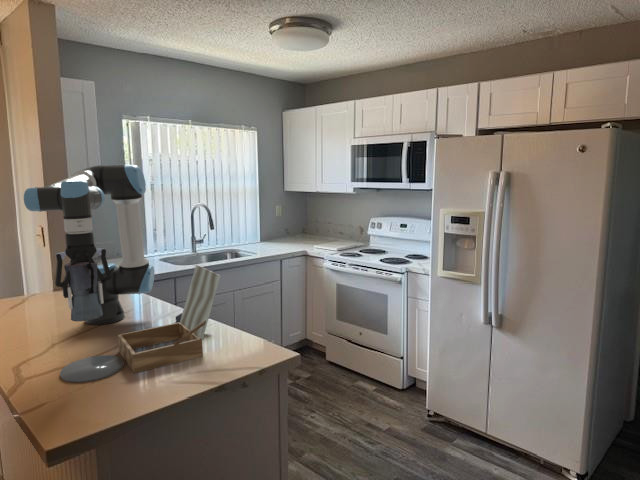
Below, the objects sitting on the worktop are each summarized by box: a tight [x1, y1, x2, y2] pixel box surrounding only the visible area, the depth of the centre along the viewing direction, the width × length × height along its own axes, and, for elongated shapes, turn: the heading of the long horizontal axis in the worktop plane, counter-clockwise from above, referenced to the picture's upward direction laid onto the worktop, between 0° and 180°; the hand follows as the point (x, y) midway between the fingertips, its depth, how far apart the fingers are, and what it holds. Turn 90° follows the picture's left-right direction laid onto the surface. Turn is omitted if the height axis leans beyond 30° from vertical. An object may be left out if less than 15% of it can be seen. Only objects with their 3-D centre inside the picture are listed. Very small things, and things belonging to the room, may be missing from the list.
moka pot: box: [64, 260, 103, 322], centre depth 142 cm, size 10×15×20 cm, turn 51°
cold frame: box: [117, 264, 222, 374], centre depth 158 cm, size 22×30×27 cm
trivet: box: [59, 354, 125, 383], centre depth 146 cm, size 18×18×1 cm
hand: (86, 305), depth 143 cm, fingers closed on moka pot, 8 cm apart
